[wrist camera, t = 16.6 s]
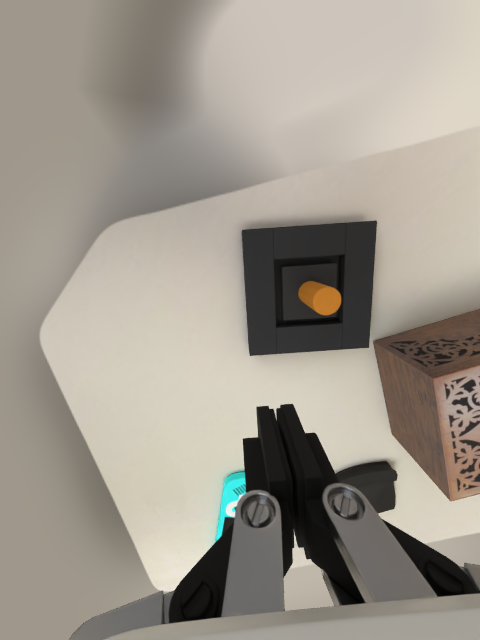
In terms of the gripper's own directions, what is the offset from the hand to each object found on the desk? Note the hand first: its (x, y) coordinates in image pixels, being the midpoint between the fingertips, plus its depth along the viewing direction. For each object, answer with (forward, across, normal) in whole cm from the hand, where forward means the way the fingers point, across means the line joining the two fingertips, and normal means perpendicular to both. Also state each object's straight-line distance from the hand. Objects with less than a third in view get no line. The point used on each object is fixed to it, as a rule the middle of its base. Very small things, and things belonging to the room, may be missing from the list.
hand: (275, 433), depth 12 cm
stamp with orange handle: (+19, -7, -3) cm, 21 cm away
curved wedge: (+20, -14, +27) cm, 36 cm away
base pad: (+20, -7, -3) cm, 22 cm away
